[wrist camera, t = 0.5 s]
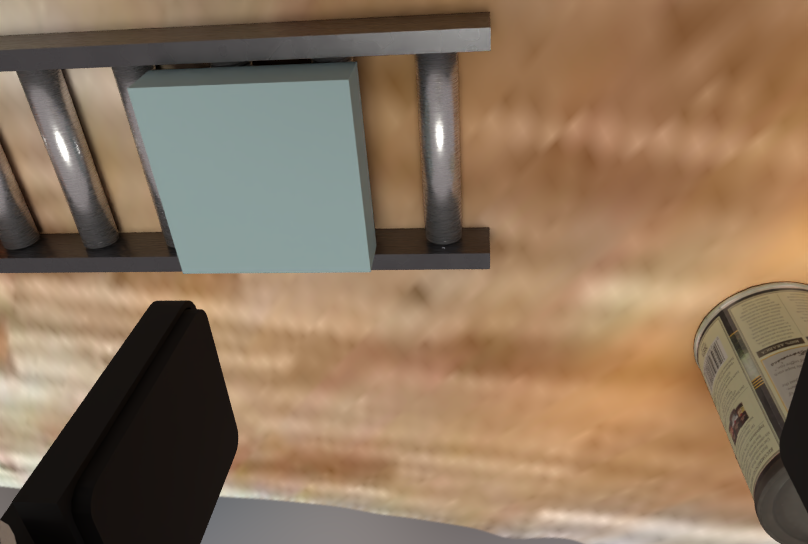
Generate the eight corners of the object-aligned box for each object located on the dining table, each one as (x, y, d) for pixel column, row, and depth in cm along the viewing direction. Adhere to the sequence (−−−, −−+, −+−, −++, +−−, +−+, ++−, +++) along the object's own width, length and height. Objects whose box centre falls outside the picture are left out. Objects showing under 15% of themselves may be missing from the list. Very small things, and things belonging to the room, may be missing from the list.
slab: (149, 70, 39) (127, 88, 36) (356, 61, 38) (348, 79, 35) (198, 248, 46) (183, 273, 43) (376, 245, 44) (370, 272, 42)
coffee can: (852, 370, 50) (965, 540, 39) (706, 402, 53) (771, 569, 42) (839, 261, 45) (965, 418, 34) (679, 304, 48) (744, 462, 37)
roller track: (-128, 42, 42) (-193, 67, 38) (489, 12, 38) (491, 37, 34) (-25, 248, 51) (-69, 288, 47) (489, 242, 47) (490, 285, 43)
